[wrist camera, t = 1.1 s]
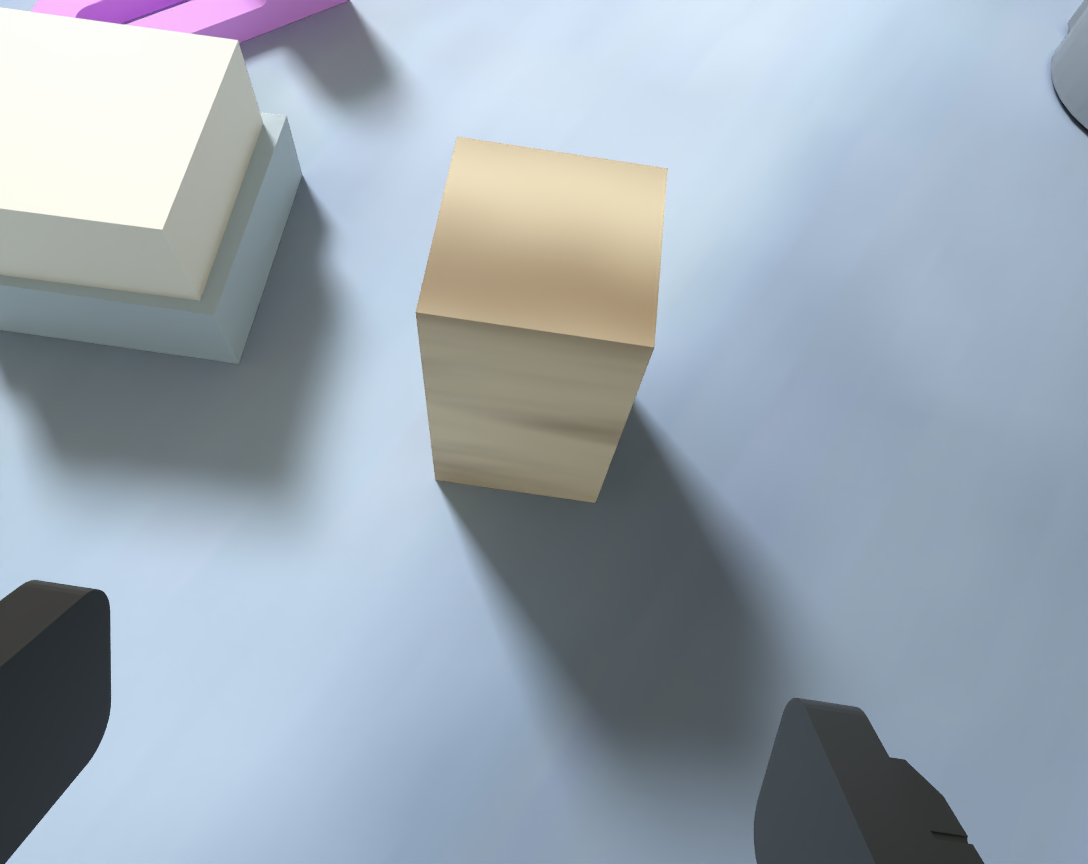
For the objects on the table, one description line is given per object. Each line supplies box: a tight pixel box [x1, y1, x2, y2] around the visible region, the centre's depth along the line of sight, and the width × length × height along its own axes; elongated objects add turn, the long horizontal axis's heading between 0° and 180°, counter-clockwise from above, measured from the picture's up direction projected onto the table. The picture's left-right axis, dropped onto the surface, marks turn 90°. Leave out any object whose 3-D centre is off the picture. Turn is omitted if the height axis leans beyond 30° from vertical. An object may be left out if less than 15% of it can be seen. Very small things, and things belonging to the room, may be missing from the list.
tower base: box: [0, 112, 302, 364], centre depth 29 cm, size 9×9×4 cm
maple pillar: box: [416, 137, 668, 503], centre depth 24 cm, size 6×6×10 cm
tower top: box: [0, 8, 263, 301], centre depth 26 cm, size 8×8×4 cm
